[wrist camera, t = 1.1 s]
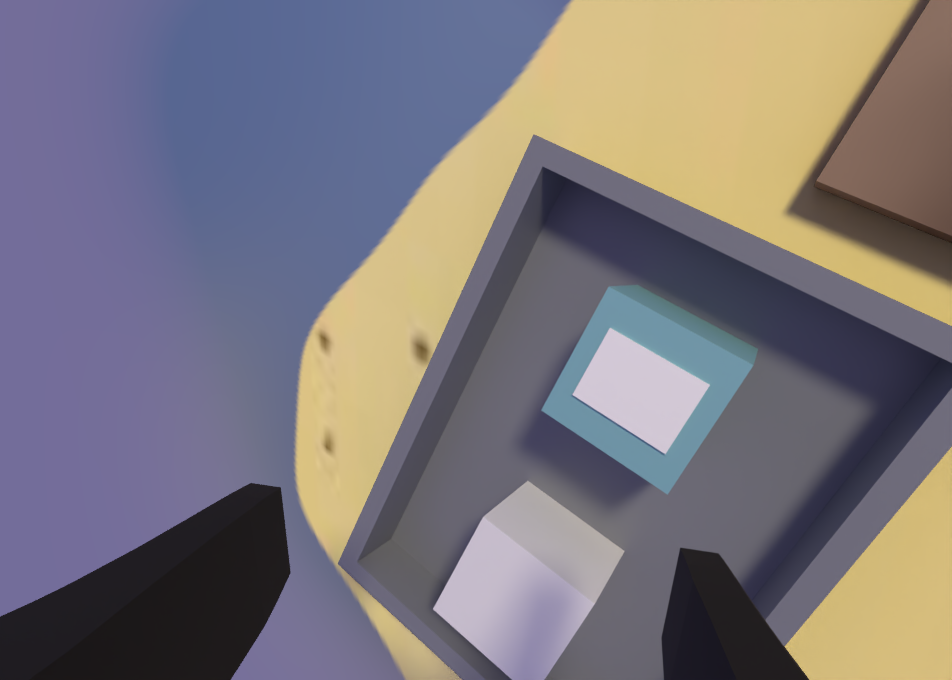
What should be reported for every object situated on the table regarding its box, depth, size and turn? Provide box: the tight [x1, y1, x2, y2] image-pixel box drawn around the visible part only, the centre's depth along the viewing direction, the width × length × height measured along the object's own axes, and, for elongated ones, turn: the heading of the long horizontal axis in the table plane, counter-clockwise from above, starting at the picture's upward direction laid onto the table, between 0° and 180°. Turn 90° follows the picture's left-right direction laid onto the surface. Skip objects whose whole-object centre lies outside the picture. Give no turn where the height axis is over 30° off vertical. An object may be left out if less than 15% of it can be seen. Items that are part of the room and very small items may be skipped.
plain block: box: [433, 481, 624, 680], centre depth 21 cm, size 4×4×4 cm
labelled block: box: [541, 285, 758, 495], centre depth 19 cm, size 4×4×4 cm
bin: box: [338, 135, 952, 680], centre depth 21 cm, size 15×20×3 cm
